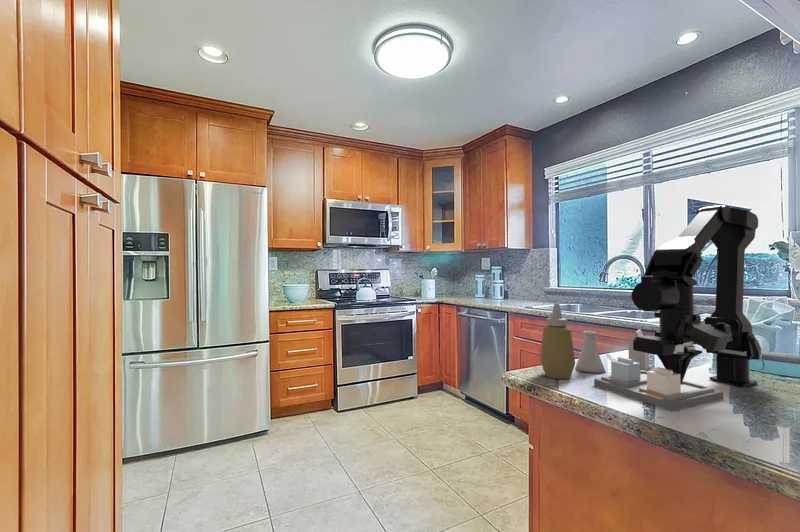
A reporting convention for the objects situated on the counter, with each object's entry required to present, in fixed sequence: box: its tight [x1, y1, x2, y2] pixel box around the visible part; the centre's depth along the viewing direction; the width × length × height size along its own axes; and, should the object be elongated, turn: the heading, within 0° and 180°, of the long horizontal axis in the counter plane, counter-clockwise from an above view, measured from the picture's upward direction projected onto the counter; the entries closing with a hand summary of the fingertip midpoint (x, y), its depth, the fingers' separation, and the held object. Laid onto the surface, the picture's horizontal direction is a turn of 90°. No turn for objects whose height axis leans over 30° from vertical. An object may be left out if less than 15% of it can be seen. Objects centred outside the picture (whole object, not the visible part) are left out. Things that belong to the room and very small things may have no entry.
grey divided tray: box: [593, 370, 725, 412], centre depth 82 cm, size 16×17×2 cm
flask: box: [575, 330, 606, 374], centre depth 99 cm, size 7×7×10 cm
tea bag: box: [628, 328, 650, 371], centre depth 101 cm, size 4×7×10 cm, turn 140°
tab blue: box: [610, 356, 641, 383], centre depth 85 cm, size 4×4×5 cm
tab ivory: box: [647, 366, 681, 396], centre depth 76 cm, size 4×4×5 cm
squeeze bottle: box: [540, 303, 576, 380], centre depth 94 cm, size 8×8×18 cm
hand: (677, 384), depth 77 cm, fingers closed
